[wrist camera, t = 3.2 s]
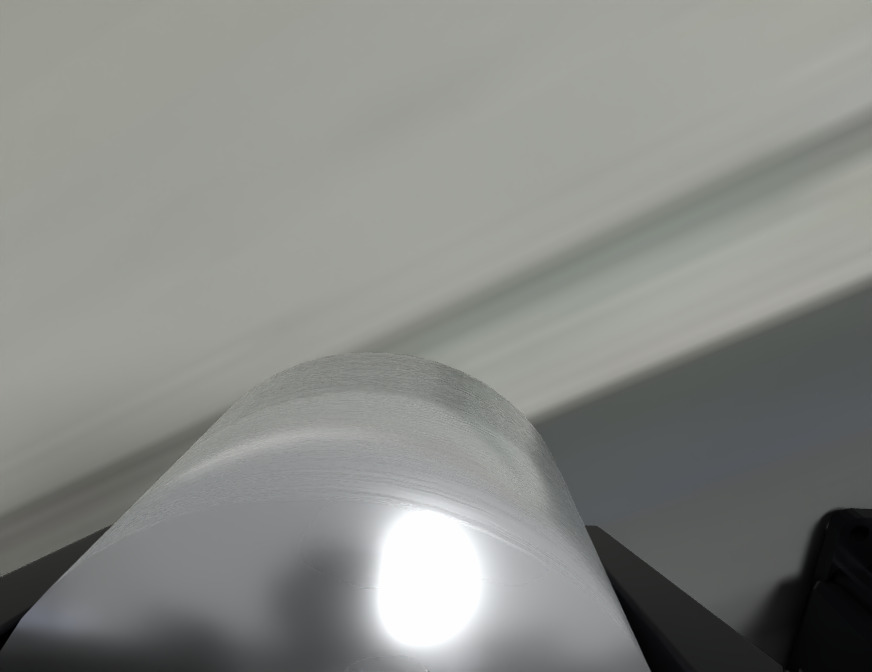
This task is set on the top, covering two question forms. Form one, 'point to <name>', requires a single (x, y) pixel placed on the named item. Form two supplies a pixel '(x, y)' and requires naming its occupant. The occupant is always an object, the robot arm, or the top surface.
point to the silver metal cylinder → (343, 543)
